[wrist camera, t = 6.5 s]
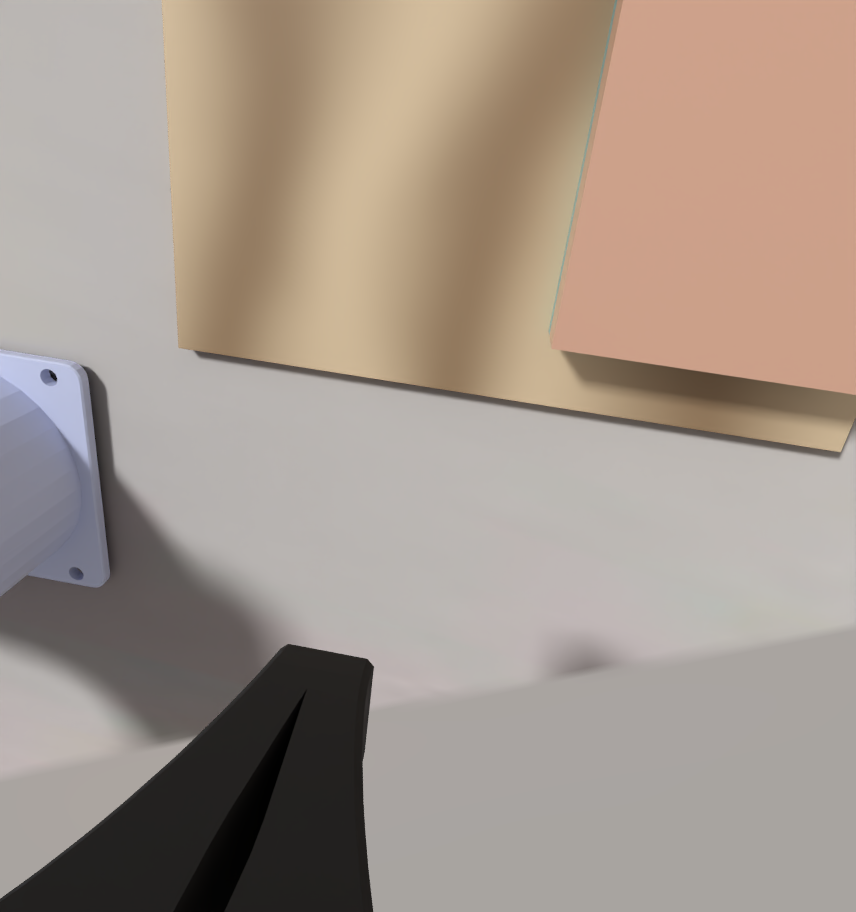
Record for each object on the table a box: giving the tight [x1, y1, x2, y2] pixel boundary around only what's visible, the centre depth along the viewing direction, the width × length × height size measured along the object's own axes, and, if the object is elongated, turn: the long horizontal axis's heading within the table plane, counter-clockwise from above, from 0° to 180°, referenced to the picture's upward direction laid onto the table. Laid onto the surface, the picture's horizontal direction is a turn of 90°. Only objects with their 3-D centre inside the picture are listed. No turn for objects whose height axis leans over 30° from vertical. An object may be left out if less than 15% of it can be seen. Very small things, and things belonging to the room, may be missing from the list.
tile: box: [548, 0, 856, 395], centre depth 14 cm, size 2×8×7 cm
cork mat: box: [162, 0, 856, 452], centre depth 14 cm, size 18×18×1 cm
